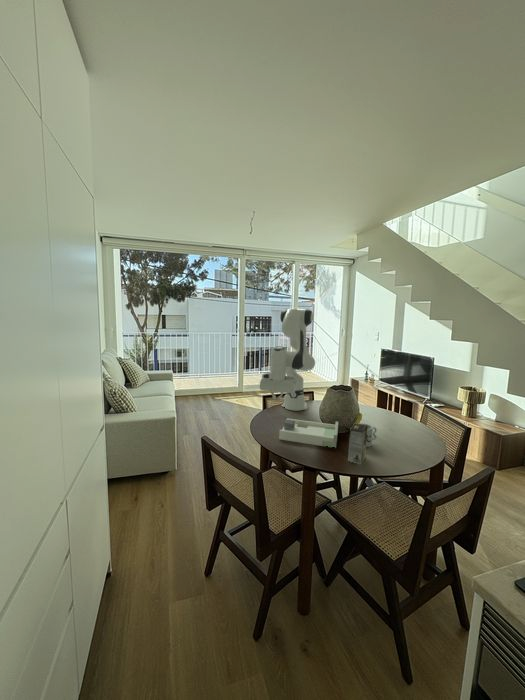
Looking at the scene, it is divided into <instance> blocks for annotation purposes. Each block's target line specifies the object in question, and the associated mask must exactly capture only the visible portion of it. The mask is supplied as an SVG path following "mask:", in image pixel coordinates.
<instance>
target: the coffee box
mask: <svg viewBox="0 0 525 700" xmlns="http://www.w3.org/2000/svg"><path fill="white" fill-rule="evenodd" d="M367 427H368V426H365V425H360V424H354V425H353V426H352V428H351V429H350V430H349V439H348V456H347V462H349V461H350V463H352V462H353V463H354V464H356V463H357V464H356V465H362V464H363V462H364V460H365V458H366V449H367V447H366V439H367Z"/></svg>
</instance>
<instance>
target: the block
mask: <svg viewBox="0 0 525 700" xmlns="http://www.w3.org/2000/svg"><path fill="white" fill-rule="evenodd" d="M283 427H284V429H286V430H293V429H294V427H295V421H294V420H287V419H285V421H284V426H283Z"/></svg>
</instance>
